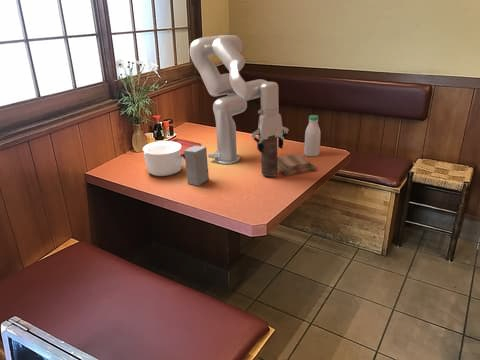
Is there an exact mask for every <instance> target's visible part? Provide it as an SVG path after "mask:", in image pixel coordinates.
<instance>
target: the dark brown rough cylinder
mask: <svg viewBox="0 0 480 360" xmlns="http://www.w3.org/2000/svg"><path fill="white" fill-rule="evenodd" d="M261 143H262V152H260V156H261V157H260V160H261V161H260V163H261V165H260V167H261V169H260V170H261V171H260V173H261V174H262V175H263V176H265V177H278V171H279V170H278V167H277V157H278V138H275V135H273V136H269V137H268V139H263V141H262V142H261Z"/></svg>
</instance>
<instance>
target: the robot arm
mask: <svg viewBox="0 0 480 360" xmlns="http://www.w3.org/2000/svg"><path fill="white" fill-rule="evenodd" d="M243 45H244V44H243V41H242V39H241V38H240V37H239V36H238V35H235V34H231V35H228V34H227V35H226V34H225V35H224V34H223V35H222V34H221V35H212V36H205V37H204V36H203V37H199V38H197V39H194V40H193V41H192V42H191V43H190V45H189V55H190V59H191V61H192V63H193V65H194V67H195V68H196V70H197V71H198V73H199V74H200V77H201V80H202V81H203V83H204V86H205V87H206V90H207V92H208V94H209V95H210V96H211V97H219V98H217V99H216V100H215V101H214V102H213V104H212V110H213V114H214V119H215V127H216V129H215V130H216V145H217V146H216V147H217V148H216V149H217V150H215V152H214V153H208V154H207V158H209V159H212V160H214V161H215V162H216V163H218V164H221V165H231V164H236V163H238V162H239V161H240V159H241V156H240V155H239V154H238V152H237V149H238V147H237V125H236V123H235V120H234V118H233V116H235V115H238V114H241V113H245V111H246V110H247V108H248V101H251V100H254V99H258V98H260V109H259V110H257V114H258V115H259V118H258V124H257V125H258V128H257V129H256V130H255V131H254V132H251V134H250V136H251V137H252V139H253V140H254V141H255V142H256V144H257V145H256V147H257V150H258V151H259V153H261V152H262V143H261V142H262V141H263V139H268V137H269V136H273V135H275V138H277V148H279V149H282V150H283V148H284V140H285V138H286V137H287V136H288V132H289V131H290V130H289V128H288V127H286V126H283V121H282V114H280V112H279V107H280V106H279V84H278V83H277V82H275V81H267V80H266V79H260V78H259V79H255V80H254V79H253V80H250V81H245V80H244V78H243V77H242V76H241V74H240V71H241V70H242V69H243V68H244V66H245V64H246V60H245V58H244V56H243V55H242V54H241V53H242V50H243V48H244V47H243ZM215 55H216V57H218V59H219V60H220V61H221V63H222V64H223V65H224V66H225V68H226V69H227V71H228V72H229V73H222V74H221V73H220V71H219V70H218V67H217V66H216V64H215V62H213V61H212V60H211V59H210V58H208V57H209V56H210V57H211V56H215ZM224 95H225V96H224ZM257 135H258V137H257Z"/></svg>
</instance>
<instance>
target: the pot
mask: <svg viewBox="0 0 480 360" xmlns="http://www.w3.org/2000/svg"><path fill="white" fill-rule="evenodd" d="M180 149H181V144H179V143H177V142H173V141H172V140H160V141H153V142H150V143H148V144H146V145H144V146H143V147H142V151H143V159H144V160H145V166H146V169H147V171H148V173H149V174H151V175H153V176H157V177H165V176H171V175H174V174H177V173H179V172H180V171H181V170H182V165H184V163H185V157H182V156H180V151H179V150H180Z"/></svg>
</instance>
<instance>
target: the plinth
mask: <svg viewBox="0 0 480 360" xmlns="http://www.w3.org/2000/svg"><path fill="white" fill-rule="evenodd" d="M277 167H278V171H279V172H280V173H281V174H282V175H283V176H285V177H287V176H293V175H298V174H299V175H300V174H304V173H310V172H316V171H317V166H316V165H314V164H313V163H311V161H310V160H308V159H306V158H305V157H304V156H302V155H301V154H299V153H297V154H295V153H294V154H291V155H290V154H289V155H285V156H284V155H283V156H277Z"/></svg>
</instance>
